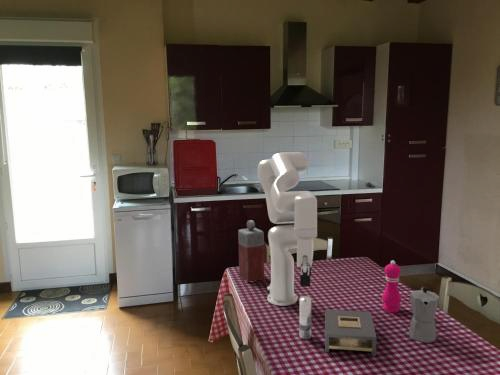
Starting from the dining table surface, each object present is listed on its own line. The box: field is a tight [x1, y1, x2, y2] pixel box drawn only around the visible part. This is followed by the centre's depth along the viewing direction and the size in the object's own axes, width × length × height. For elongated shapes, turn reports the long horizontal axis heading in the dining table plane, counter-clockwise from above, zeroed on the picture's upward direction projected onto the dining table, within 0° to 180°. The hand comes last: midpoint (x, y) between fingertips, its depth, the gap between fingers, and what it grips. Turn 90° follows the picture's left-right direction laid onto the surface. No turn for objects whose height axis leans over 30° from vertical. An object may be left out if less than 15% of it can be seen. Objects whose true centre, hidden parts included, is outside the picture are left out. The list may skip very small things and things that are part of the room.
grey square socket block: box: [324, 308, 377, 357], centre depth 152 cm, size 18×16×7 cm
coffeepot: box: [407, 285, 440, 344], centre depth 154 cm, size 15×9×18 cm, turn 163°
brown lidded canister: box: [237, 219, 268, 282], centre depth 207 cm, size 9×11×28 cm
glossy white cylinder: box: [298, 295, 312, 340], centre depth 154 cm, size 4×4×14 cm
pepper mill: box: [381, 260, 402, 314], centre depth 173 cm, size 7×7×20 cm
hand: (305, 280), depth 151 cm, fingers open, 9 cm apart
